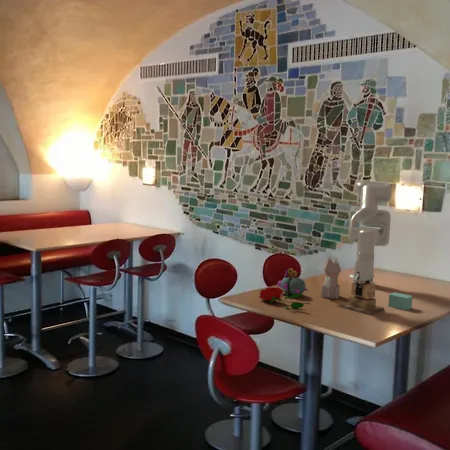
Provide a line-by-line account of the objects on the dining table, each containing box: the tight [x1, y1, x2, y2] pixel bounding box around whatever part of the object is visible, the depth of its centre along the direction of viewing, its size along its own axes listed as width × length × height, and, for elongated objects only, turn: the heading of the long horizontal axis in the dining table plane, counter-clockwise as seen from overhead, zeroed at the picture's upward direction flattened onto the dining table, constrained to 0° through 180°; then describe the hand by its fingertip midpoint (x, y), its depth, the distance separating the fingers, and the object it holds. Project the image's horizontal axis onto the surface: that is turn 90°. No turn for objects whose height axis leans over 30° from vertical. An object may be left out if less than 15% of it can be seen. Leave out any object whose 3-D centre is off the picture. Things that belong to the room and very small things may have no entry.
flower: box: [258, 286, 311, 310], centre depth 260 cm, size 9×9×30 cm
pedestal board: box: [340, 295, 385, 316], centre depth 261 cm, size 16×12×5 cm
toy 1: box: [277, 268, 309, 295], centre depth 281 cm, size 11×14×15 cm
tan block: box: [350, 281, 377, 299], centre depth 260 cm, size 9×6×6 cm, turn 43°
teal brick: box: [387, 292, 414, 311], centre depth 265 cm, size 9×6×6 cm, turn 48°
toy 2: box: [320, 257, 342, 300], centre depth 277 cm, size 9×18×20 cm, turn 161°
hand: (362, 293), depth 260 cm, fingers open, 6 cm apart
